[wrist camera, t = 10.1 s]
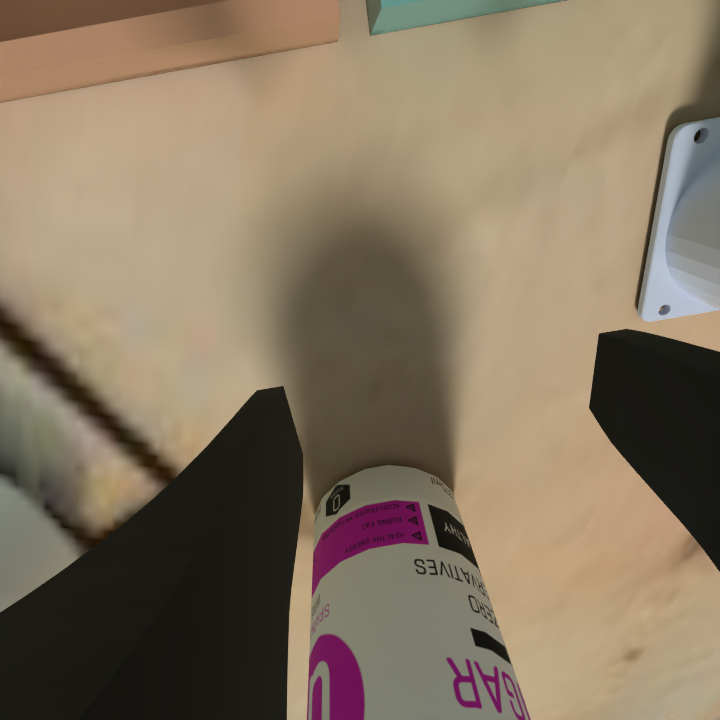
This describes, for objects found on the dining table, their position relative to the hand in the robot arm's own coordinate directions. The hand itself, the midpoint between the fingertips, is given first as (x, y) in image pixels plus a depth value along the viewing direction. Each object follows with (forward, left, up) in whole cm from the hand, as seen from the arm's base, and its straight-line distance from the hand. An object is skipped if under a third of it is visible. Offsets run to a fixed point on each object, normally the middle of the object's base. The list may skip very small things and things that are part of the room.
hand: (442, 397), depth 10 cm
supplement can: (+2, +14, -10) cm, 17 cm away
